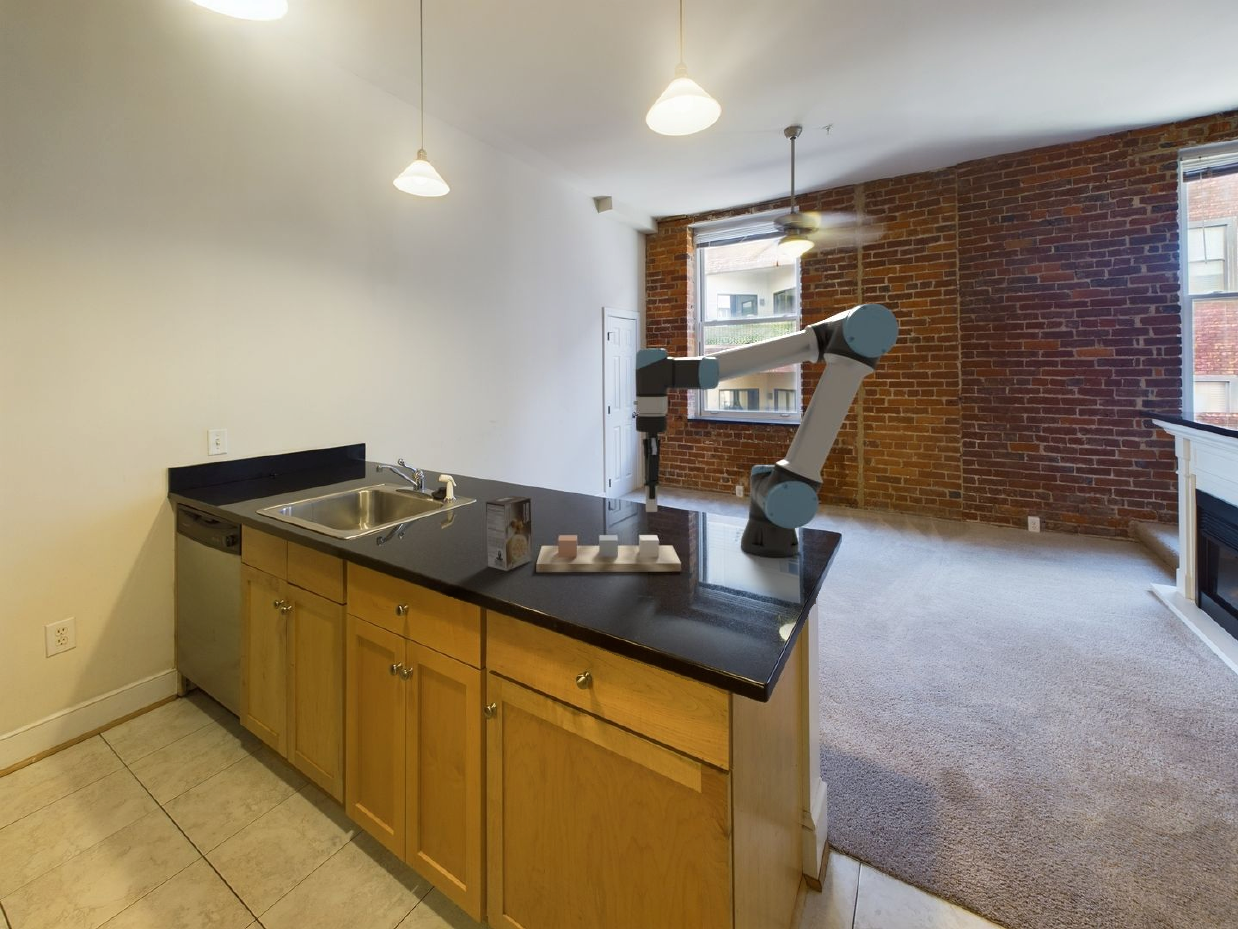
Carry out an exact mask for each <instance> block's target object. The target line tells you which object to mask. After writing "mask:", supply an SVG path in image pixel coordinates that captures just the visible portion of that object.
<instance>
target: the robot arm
mask: <svg viewBox="0 0 1238 929" xmlns="http://www.w3.org/2000/svg"><path fill="white" fill-rule="evenodd" d="M899 331H900V330H899V323H898V321H897V318H896V316H895V315H894V313H893V312H892V311H891V310H890V309H888V308H887V307H886V306H884V305H882V304H878V303H865V304H859V305H856V306H854V307H852V308H851V309H847V310H845V311H841V312H839V313H836V314H835V315H833V316H831V317H828V318H827V319H825V320H822V321H819V322H816V323H812V324H808V325H806V326H805V327H804V329H803V330H801V331H797V332H793V333H790V334H785V335H781V336H777V337H773V338H770V339H769V338H768V339H765V340H762V341H757V342H754V343H749V344H745V345H741V346H738V347H733V348H729V349H726V350H722V351H718V352H714V353H713V352H712V353H709V354H706V355H702V356H695V357H693V356H691V357H689V356H688V357H687V356H686V357H672V356H669V354H668V353H669V352H668V350H667V349H665V348H643V349H642V348H641V349H639V350H638V351H637V352H636V355H635V357H636V358H635V400H634V401H633V405H634V406H635V413H636V414H637V415H636V417H635V430H636V432H639V433H645V438H642V445H643V456H644V482H643V486H644V487H645V512H646V513H656V512H658V486H659V484H660V481H659V476H660V475H659V474H660V451H661V446H662V444H661V439H660V438H659V436H658V435H659V434H658V433H664V432H667V430H668V417H667V416H666V415H667V414H668V408H669V406H668V405H669V404H668V402H669V401H668V400H669V399H668V390H688V391H689V390H702V391H705V390H714V389H715V390H716V389H717V388H718V385H719V383H720V382H721V383H722V382H726V381H729V380H732V379H733V380H734V379H738V378H741V377H745V376H749V375H754V374H758V373H762V372H767V371H770V370H776V369H777V368H779V369H780V368H783V367H786V366H787V367H788V366H791V365H795V364H796V365H797V364H800V363H803V362H811V363H812V364H816V363H822V362H825V363H826V366H825V367H824V370H823V372H822V374H821V376H820V379H819V381H818V384H817V386H816V388H815V390H814V392H813V395H812V396H811V398H810V401H809V403H808V405H807V408H806V411H805V412H804V415H803V417H802V419H801V421H800V423H799V426H798V428H797V431H795V432H796V433H795V436H794V437H793V439H792V441H791V444H790V446H789V448H788V451H787V453H786V456H785V457H784V458H783V459H780V460H779V461H776V462H775V464H763V465H762V464H755V465H754V466H752V467H751V472H750V473H751V474H750V477H749V478H750V486H749V487H750V489H749V505H748V506H749V508H748V510H749V511H748V512H749V513H748V520H747V523H746V524H745V525H746V526H745V528H744V531H743V532H742V536H741V539H740V548H741V549H742V550H743V551H745V552H747V553H750V554H752V555H755V556H759V557H760V556H761V557H768V558H789V557H793V556H796V555H797V553H798V554H799V553H800V552H799V551H800V543H799V538H798V535H797V532H796V529H798V528H802V527H804V526H806V525H808V524H809V523H810V522H811V521H813V519H814V518H815V517H816V515H817V512H818V510H819V497H818V493H820V492H819V491H820V490H821V487H822V485H823V483H824V480H823V478H822V476H821V471H822V469H823V467H824V465H825V463H826V460H827V457H828V456H829V454H830V451H831V449H832V447H833V445H834V443H835V440H836V439H837V436H838V434H839V432H840V429H841V427H842V425H843V422H844V420H845V419H846V417H847V415H848V412H849V410H850V408H851V405H852V404H853V401H854V399H855V396H856V395H857V392H858V390H859V388H860V386H861V384H862V381H863V379H864V378H865V377H867V376H869V375H871V374H873V373H874V372H875V370H876V368H877V365H878V364H879V361H880V359H881V357H882V356H884V355H886V354H887V353H888V352H889V351H891V349H893V347H894V346H895V345H896V343H897V341H898V336H899Z"/></svg>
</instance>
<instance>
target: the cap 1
mask: <svg viewBox="0 0 1238 929" xmlns="http://www.w3.org/2000/svg"><path fill="white" fill-rule="evenodd" d="M557 540H558V541H557V546H558V557H577V546H578V535H577V534H576V535H575V534H574V535H572V534H569V535H567V534H565V535H564V534H562V535H561V534H560V535H558V539H557Z"/></svg>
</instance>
